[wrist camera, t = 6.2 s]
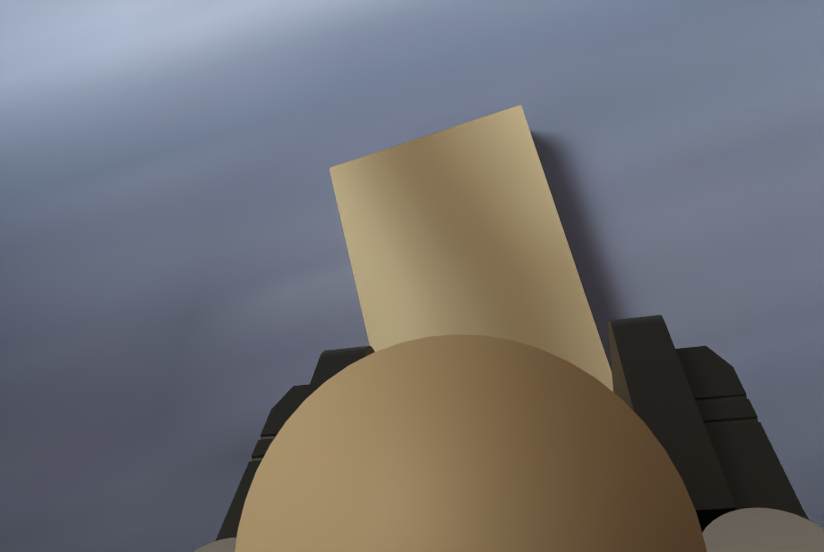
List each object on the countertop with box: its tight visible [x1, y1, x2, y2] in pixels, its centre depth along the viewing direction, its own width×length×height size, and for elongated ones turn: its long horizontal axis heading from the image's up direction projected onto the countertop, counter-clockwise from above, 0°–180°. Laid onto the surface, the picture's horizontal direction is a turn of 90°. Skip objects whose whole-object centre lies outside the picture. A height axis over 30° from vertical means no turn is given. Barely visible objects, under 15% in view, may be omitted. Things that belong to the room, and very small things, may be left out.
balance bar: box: [235, 105, 707, 552], centre depth 10 cm, size 5×18×12 cm, turn 14°
